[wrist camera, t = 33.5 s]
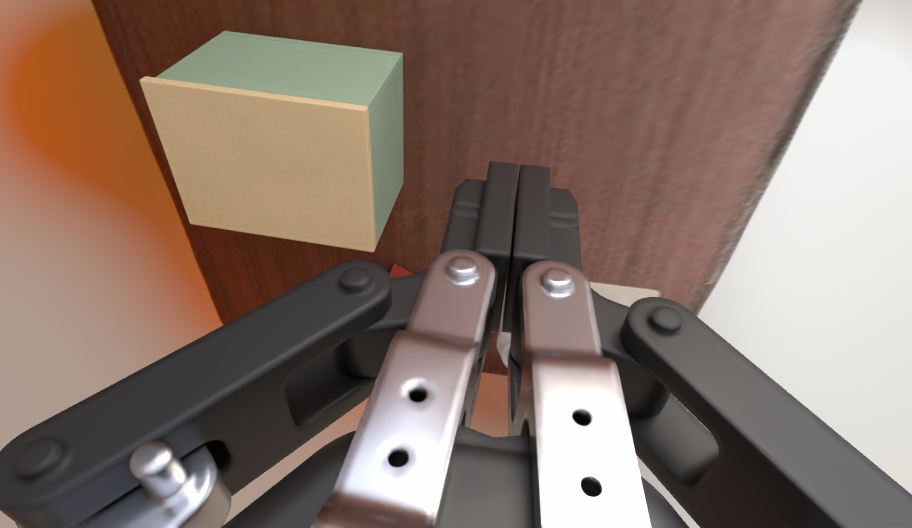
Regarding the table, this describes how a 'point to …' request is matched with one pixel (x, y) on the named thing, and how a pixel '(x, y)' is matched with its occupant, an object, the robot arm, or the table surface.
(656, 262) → the table surface
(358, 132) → the lid
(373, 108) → the green open box
